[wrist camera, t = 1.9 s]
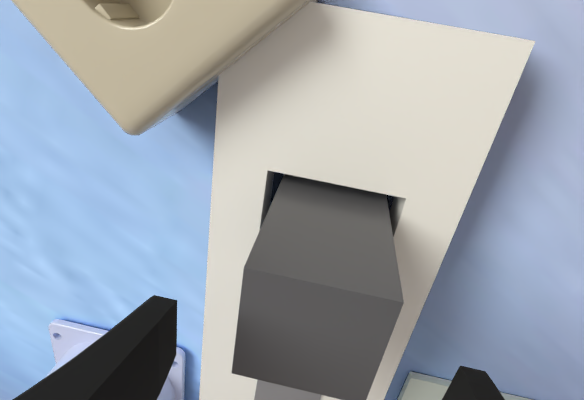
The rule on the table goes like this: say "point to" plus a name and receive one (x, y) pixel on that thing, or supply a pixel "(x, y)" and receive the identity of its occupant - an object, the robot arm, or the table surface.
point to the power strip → (351, 152)
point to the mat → (432, 388)
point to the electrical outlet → (153, 47)
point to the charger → (319, 290)
